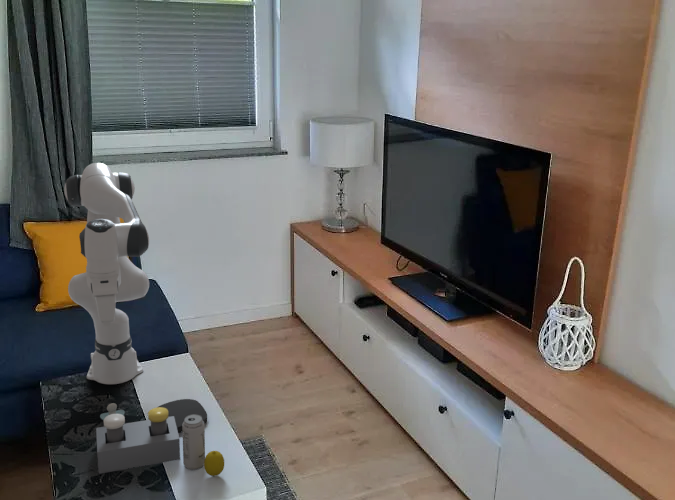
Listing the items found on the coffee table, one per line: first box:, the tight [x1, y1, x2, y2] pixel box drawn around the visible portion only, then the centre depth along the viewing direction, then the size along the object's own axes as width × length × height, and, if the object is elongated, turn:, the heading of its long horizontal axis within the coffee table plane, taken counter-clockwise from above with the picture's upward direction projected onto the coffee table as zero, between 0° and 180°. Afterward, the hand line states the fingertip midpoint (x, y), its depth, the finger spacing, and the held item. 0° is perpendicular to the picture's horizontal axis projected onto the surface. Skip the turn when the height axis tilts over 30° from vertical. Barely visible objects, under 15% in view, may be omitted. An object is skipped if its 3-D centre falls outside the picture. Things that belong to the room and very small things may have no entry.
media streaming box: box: [157, 398, 208, 434], centre depth 209 cm, size 15×15×3 cm
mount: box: [95, 416, 181, 475], centre depth 190 cm, size 12×22×7 cm, turn 110°
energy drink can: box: [181, 414, 206, 471], centre depth 185 cm, size 6×6×15 cm
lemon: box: [203, 450, 225, 477], centre depth 182 cm, size 6×6×8 cm
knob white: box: [103, 414, 126, 443], centre depth 187 cm, size 6×6×11 cm
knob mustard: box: [147, 406, 168, 436], centre depth 191 cm, size 6×6×11 cm
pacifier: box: [99, 402, 126, 421], centre depth 207 cm, size 7×6×6 cm
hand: (107, 323), depth 187 cm, fingers closed
